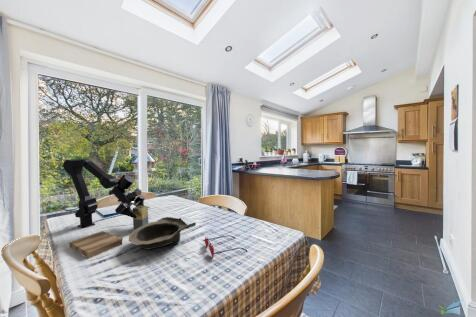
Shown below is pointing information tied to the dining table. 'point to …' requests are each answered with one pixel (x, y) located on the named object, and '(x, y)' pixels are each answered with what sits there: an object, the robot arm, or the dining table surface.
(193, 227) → the dining table surface
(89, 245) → the walnut stand
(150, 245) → the stone bowl
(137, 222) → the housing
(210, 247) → the glasses
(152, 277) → the dining table surface
